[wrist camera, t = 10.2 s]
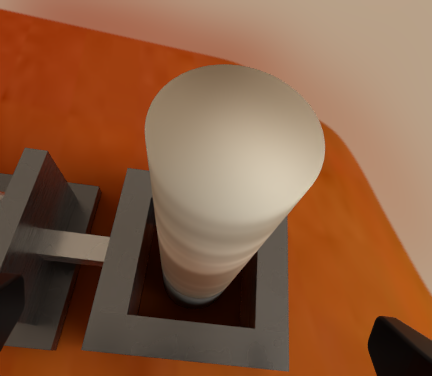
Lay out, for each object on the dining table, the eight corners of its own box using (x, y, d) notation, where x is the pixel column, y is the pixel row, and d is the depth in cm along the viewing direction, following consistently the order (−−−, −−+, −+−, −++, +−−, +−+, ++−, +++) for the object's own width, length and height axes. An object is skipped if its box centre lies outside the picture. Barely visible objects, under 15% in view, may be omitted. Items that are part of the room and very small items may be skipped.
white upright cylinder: (202, 322, 18) (272, 253, 5) (150, 284, 18) (103, 142, 6) (236, 268, 19) (351, 119, 7) (187, 235, 20) (212, 41, 7)
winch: (264, 371, 17) (306, 380, 12) (-176, 326, 16) (-355, 313, 10) (267, 214, 21) (299, 168, 16) (-80, 168, 20) (-173, 100, 14)
